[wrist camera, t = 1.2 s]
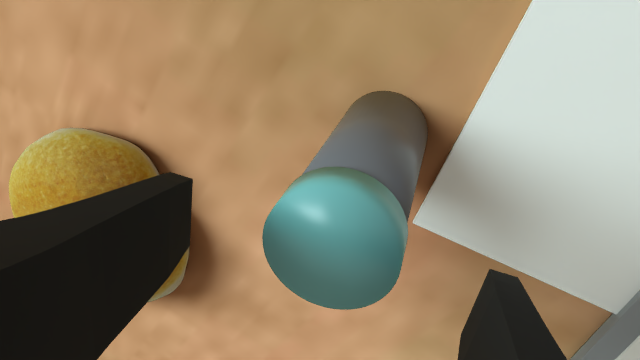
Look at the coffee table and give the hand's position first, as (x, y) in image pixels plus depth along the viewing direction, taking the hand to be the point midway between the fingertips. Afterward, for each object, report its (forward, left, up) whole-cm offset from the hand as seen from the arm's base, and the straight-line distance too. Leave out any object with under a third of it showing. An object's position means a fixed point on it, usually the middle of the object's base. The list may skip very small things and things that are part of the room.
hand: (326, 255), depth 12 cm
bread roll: (+10, +9, -9) cm, 16 cm away
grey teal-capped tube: (0, 0, -8) cm, 8 cm away
